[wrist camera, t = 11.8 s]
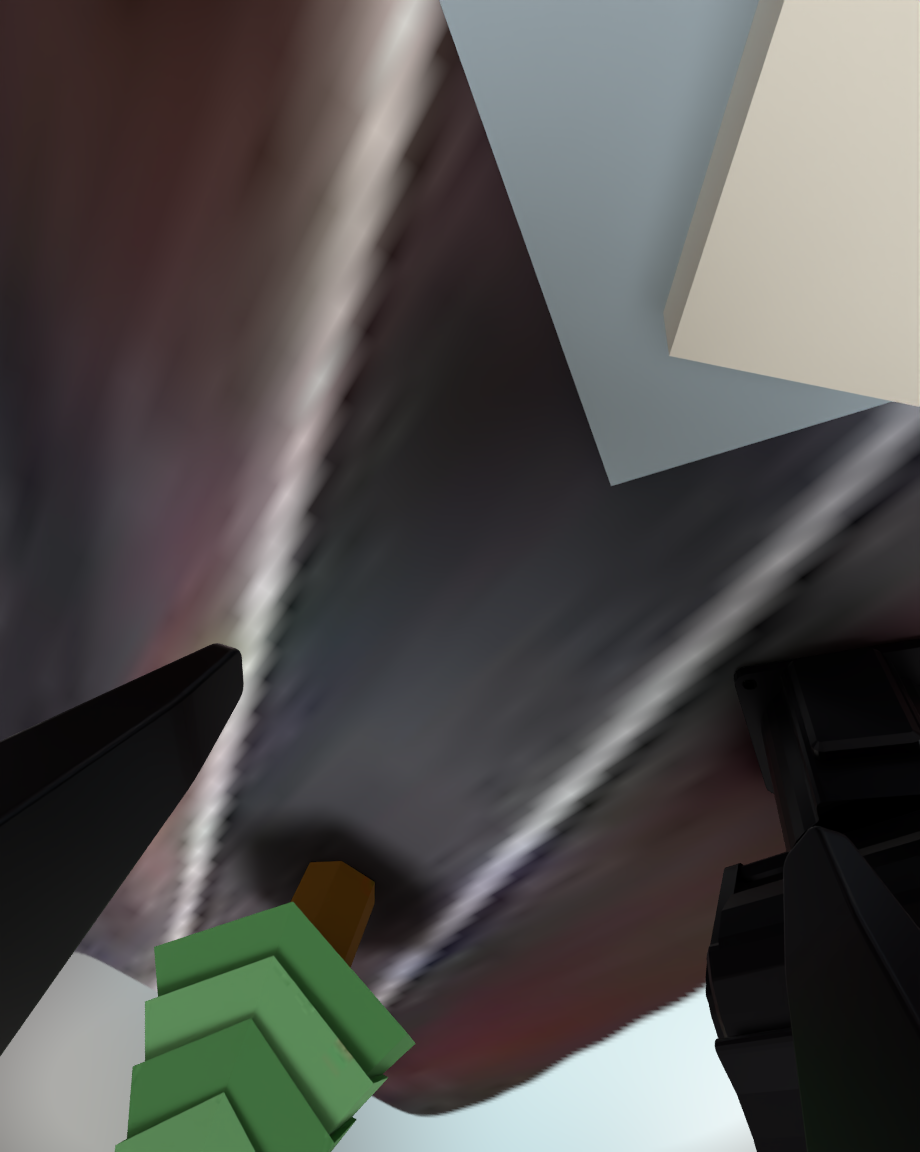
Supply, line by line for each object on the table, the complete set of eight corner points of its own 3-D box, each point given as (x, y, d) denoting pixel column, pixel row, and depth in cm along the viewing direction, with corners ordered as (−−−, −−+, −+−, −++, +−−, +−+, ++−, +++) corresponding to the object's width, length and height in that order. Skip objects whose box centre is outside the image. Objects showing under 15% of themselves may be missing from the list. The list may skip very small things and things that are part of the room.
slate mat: (1325, 253, 13) (1369, 257, 13) (612, 473, 20) (611, 485, 19) (1549, -1183, 7) (1667, -1361, 6) (391, -158, 14) (375, -180, 13)
